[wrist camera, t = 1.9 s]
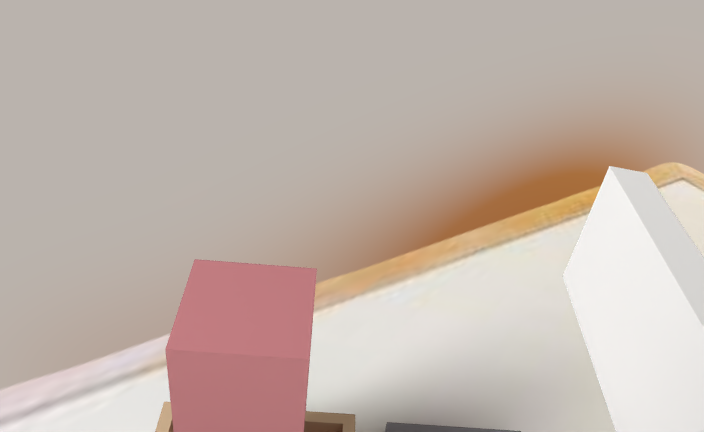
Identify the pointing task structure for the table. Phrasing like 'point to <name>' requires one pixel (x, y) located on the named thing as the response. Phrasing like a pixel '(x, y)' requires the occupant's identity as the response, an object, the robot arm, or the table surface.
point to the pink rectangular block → (241, 348)
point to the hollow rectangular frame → (318, 426)
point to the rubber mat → (434, 428)
